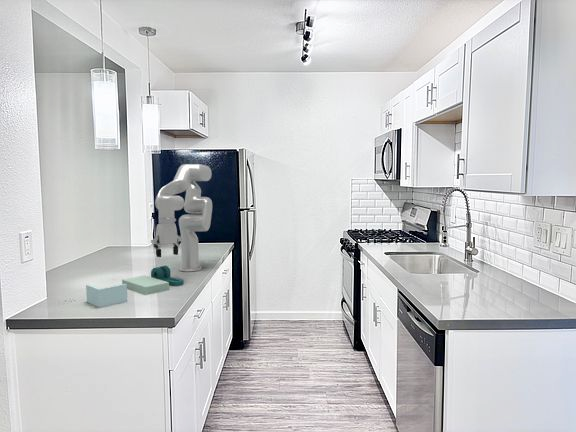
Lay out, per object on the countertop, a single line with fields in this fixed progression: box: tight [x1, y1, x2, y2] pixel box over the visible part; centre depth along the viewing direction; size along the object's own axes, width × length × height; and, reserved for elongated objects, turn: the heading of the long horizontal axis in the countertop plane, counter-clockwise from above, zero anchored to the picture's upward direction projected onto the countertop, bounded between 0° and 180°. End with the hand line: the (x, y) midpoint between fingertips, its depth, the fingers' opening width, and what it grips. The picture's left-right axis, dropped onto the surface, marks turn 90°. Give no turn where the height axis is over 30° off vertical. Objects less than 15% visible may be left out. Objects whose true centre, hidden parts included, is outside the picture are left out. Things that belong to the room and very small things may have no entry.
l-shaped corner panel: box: [85, 284, 128, 308], centre depth 183 cm, size 12×12×8 cm
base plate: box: [121, 275, 170, 296], centre depth 205 cm, size 12×22×4 cm, turn 48°
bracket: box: [150, 265, 185, 287], centre depth 215 cm, size 18×7×8 cm, turn 58°
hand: (167, 255), depth 213 cm, fingers open, 9 cm apart
